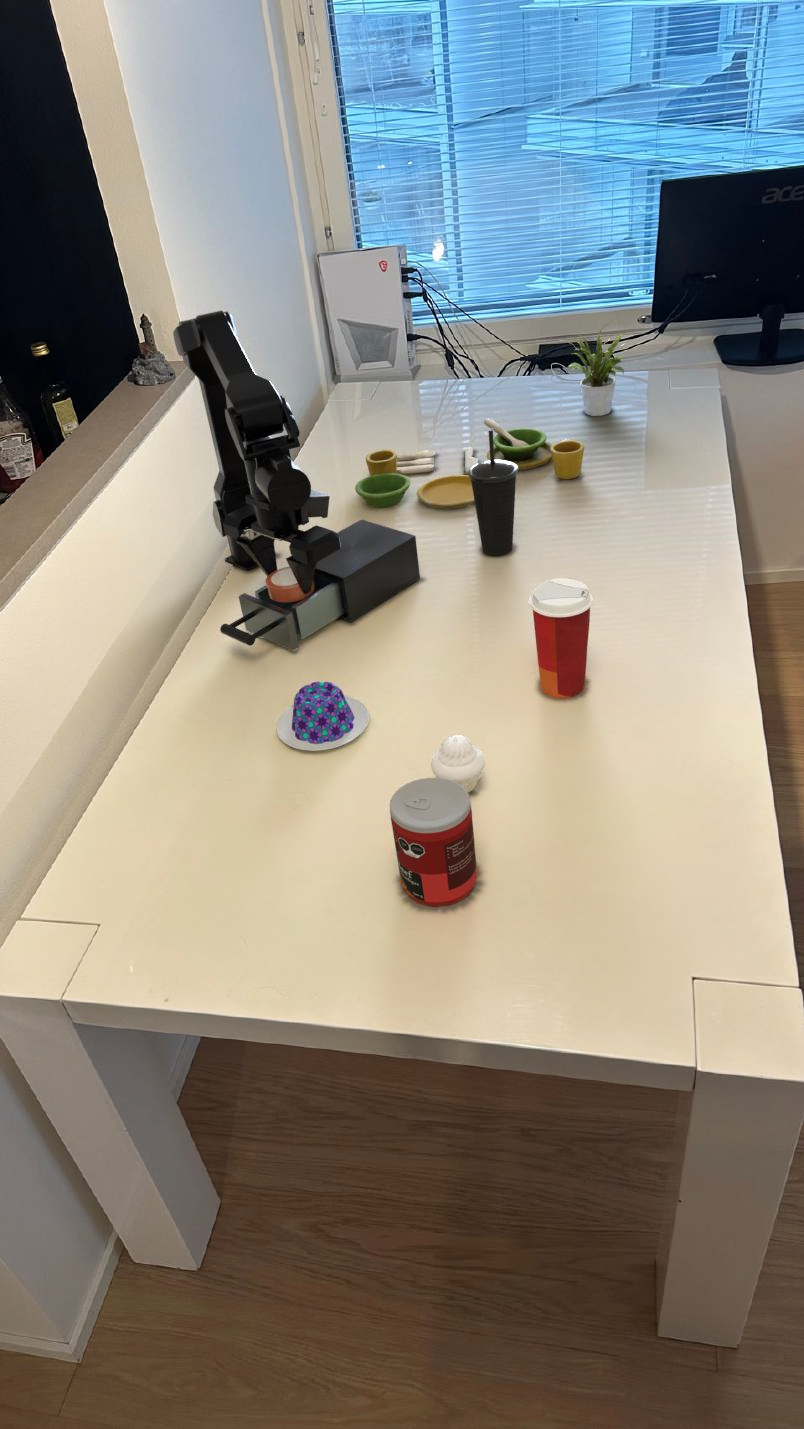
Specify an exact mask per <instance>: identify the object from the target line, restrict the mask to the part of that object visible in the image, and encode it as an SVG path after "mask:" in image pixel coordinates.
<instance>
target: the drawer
mask: <svg viewBox="0 0 804 1429" xmlns="http://www.w3.org/2000/svg"><path fill="white" fill-rule="evenodd" d="M313 580H314V586H315V589H314V591H313V593H312V594H310V595H309V596H308V597H306V598H304V599H301V600H298V601H294V602H277V601H274V600H272V599H271V598H270V597H269V595H268V591H267V586H266V584H264V585H263V586H262V587H260V588H259V589H257V590H255V591H254V594H255V596H253V595H251V594H248V593H246V592H244V593H241V594H240V595H238V600H239V601H238V602H239V604H240V609H241V613H242V616H241V617H240V618H238V619H237V620H235V621H233V622H231V623H230V624H228V623H223V624H221V626H220V628H219V630H220V633H221V634H222V635H225V636H227V637H229V638H231V639H234V640H236V641H238V642H240V643H242V644H245V645H247V646H249V647H250V646H253V645H254V644H255V642H256V639H258V638H259V637H260V638H263V639H265V640H267V641H270V642H272V643H274V644H277V645H279V646H281V647H283V648H286V649H287V650H290V651H295V650H297V649H298V648H299V647H300V646H299V641H298V639H299V640H304V639H306V638H308V637H309V636H310V635H312V634H314V633H315V632H317V631H318V630H320V629H322V628H323V627H326V626H327V625H329V624H330V623H331V622H333V621H335V620H337V619H339V618H338V617H339V616H341V615H343V614H344V613H346V611H345V605H344V599H343V593H342V587H341V582H340V581H337V580H335V579H332V578H329V577H326V576H324V575H321V574H318V573H315V572H314V578H313ZM242 624H244V626H245V631H244V630H242V629H239V628H237V627H239V626H241V625H242ZM246 631H247V632H246ZM250 633H251V634H250Z"/></svg>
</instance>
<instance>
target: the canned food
mask: <svg viewBox="0 0 804 1429" xmlns="http://www.w3.org/2000/svg"><path fill="white" fill-rule="evenodd" d="M389 814H390V822H391V828H392V829H391V830H392V835H393V840H394V841H393V842H394V848H395V852H396V858H397V865H398V871H399V877H400V884H401V886H402V888H403V890H404V891H405V893H406V894H407V896H408V897H410V898H411V899H412V900H413V901H414V902H416V903H419V904H422V905H425V906H430V907H444V906H449V905H453V904H456V903H458V902H460V901H462V900H464V899H465V898H466V897H468V895H470V893H471V892H472V891H473V889H474V886H475V884H476V881H477V878H478V870H477V869H478V868H477V857H476V845H475V834H474V822H473V820H474V819H473V811H472V802H471V799H470V795H469V792H468V793H467V791H466V790H465V789H464V788H463V787H462V786H461V785H459V784H458V783H456V782H454V781H451V780H448V779H444V778H437V777H424V778H419V779H415V780H412V781H410V782H407V783H406V784H405V783H404V784H403V785H402V786H400V787H399V788H398V789H397V790H396V791H395V792H394V793H393V795H392V796H391V798H390V801H389Z"/></svg>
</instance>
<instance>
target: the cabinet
mask: <svg viewBox="0 0 804 1429" xmlns="http://www.w3.org/2000/svg"><path fill="white" fill-rule="evenodd" d="M337 533H338V534H339V539H340V545H341V549H339V550H338V551H336V552H334V553H332V554H331V555H329V556H327V557H325V558H324V559H322V560H320V561H318V562H317V564H316V568H315V573H318V574H321V575H324V576H326V577H329V578H332V579H335V580H337V581H340V582H341V587H342V593H343V599H344V605H345V611H346V613H344V614H343V615H341V616H339V617H338V618H337V619H339V620H341V621H344V622H346V623H349V624H352V623H354V622H355V621H357V620H358V619H361V618H362V617H363V616H365V615H366V614H368V613H371V611H373V610H375V609H376V608H378V607H379V606H381V605H383V604H384V603H385V602H387V601H388V600H390V599H391V598H393V597H395V596H396V595H398V594H400V593H401V592H403V591H404V590H406V589H407V588H409V587H410V586H412V585H414V584H415V583H417V582H419V581H420V580H421V574H420V573H421V572H420V564H419V557H418V556H419V555H418V547H417V538H416V537H417V536H416V535H415V534H413V533H412V534H411V533H408V532H405V531H402V530H399V529H395V528H391V527H388V526H385V525H382V524H378V523H375V522H372V521H369V520H365V519H362V518H361V519H359V520H357V521H356V522H354V523H352V524H350V525H349V526H347V527H345V528H343V529H342V530H339V531H338V532H337Z"/></svg>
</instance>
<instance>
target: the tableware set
mask: <svg viewBox="0 0 804 1429" xmlns="http://www.w3.org/2000/svg"><path fill="white" fill-rule="evenodd" d="M483 424H484V425H485V426H486V427H487V428H489V429H493V432H495V433H496V434H497V435H495V436H494V437H493V439H494V457H495V459H499V460H504V461H509V462H512V463H514V464H516V465H517V467H518V471H523V470H530V469H534V468H537V467H540V466H542V465H545V464H546V463H548V462H549V461H550V460H551V461H552V465H553V471H554V475H555V477H556V478H558V479H562V480H570V479H575V478H577V477H579V476H580V475H581V472H582V467H583V466H582V464H583V459H584V451H585V445H584V443H583V442H581V441H578V440H571V439H569V438H564V439H562V441H559V442H557V443H553V444H552V443H550V442H548V441H547V438H548V437H547V434H546V433H545V432H543V431H542V430H540V429H536V428H528V427H524V428H523V427H521V428H513V429H508V430H506V429H504V428H503V427H502V426H501V425H500V424H499V423H497V422H496V421H495V420H494V419H492V418H489V417H488V418H487V417H486V418H485V419H484V421H483ZM464 449H465V450H464V461H465V462H464V463H465V464H464V471H465V472H464V473H465V474H452V475H444V476H442V477H437V478H433V479H431V480H429V481H427V482H424V483H423V484H422V485H421V486H419V487H418V489H417V491H416V495H417V498H418V499H419V500H420V501H421V502H422V503H424V504H425V505H426V506H429V507H432V508H436V509H458V508H463V507H467V506H471V505H473V504H475V501H474V495H473V489H472V483H471V478H470V477H469V475H468V471H469V469H470V468H471V467H472V466H474V465H476V464H478V463H479V459H478V457H477V458H476V457H474V456H473V455H474V447H472V446H468V447H466V448H464ZM435 456H436V452H435V451H433V450H427V449H426V450H420V451H417V452H414V453H408V454H398V452H397V451H395V450H393V449H379V450H374V451H371V452H369V453H368V454H367V455H366V456H365V458H364V459H365V462H366V466H367V469H368V472H369V475H370V476H367V477H365V478H363V479H361V480H359V481H358V482H357V483H356V484H355V487H354V490H355V492H356V494H357V495H358V496H360V497H361V499H363V500H364V501H365V502H366V504H367V505H368V506H369V507H372V508H375V509H376V508H377V509H386V508H390V507H391V508H392V507H394V506H396V505H398V504H399V503H400V502H402V500H403V498H404V496H405V494H406V492H407V490H408V489H410V486H411V479H410V478H409V477H408V476H406V475H409V474H419V473H420V474H421V473H430V472H433V471H434V469H435V464H434V462H435V458H434V457H435ZM486 458H487V460H490V449H488V450H487V453H486Z"/></svg>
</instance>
